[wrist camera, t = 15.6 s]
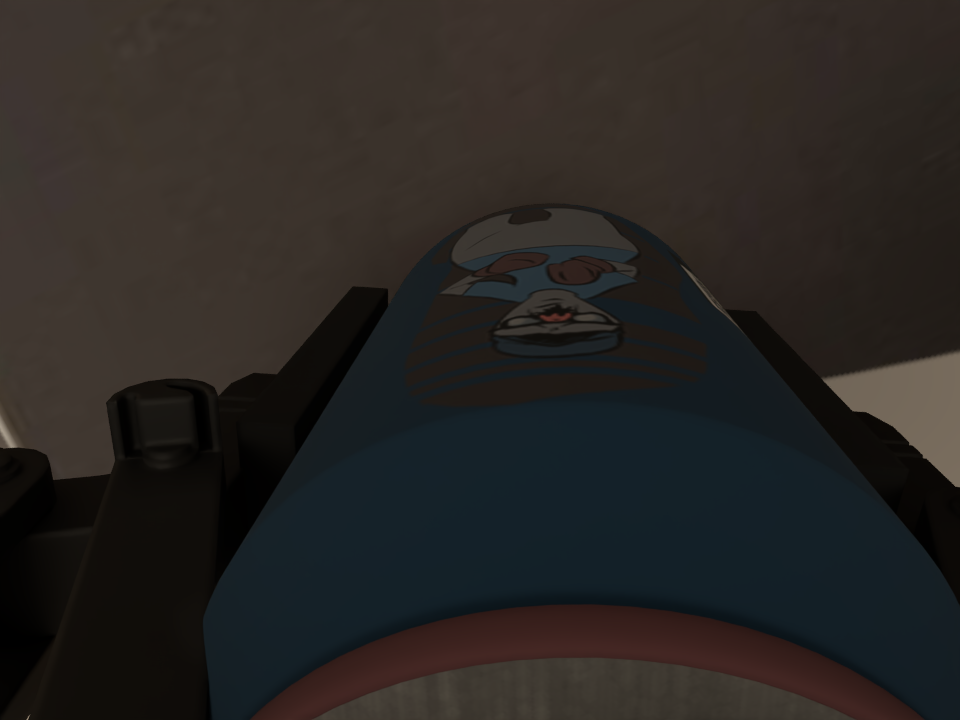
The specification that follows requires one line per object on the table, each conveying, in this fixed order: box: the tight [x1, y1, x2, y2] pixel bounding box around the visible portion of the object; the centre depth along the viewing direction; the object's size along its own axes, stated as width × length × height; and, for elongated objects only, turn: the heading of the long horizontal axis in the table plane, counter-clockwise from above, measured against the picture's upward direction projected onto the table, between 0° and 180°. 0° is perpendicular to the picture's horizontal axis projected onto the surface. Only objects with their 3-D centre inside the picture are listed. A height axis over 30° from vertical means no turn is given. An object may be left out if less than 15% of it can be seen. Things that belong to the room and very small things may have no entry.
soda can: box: [203, 204, 960, 720], centre depth 10 cm, size 7×7×12 cm
